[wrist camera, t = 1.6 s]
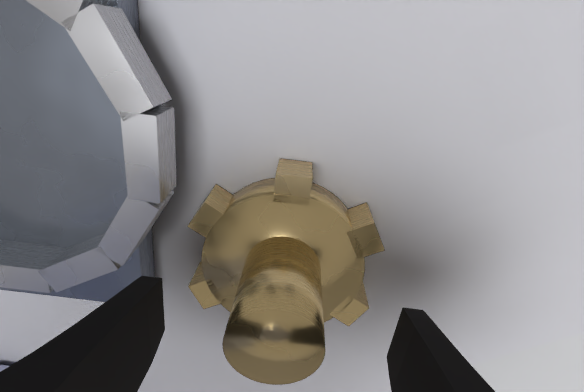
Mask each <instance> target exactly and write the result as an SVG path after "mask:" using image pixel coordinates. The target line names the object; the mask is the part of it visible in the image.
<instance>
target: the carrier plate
mask: <svg viewBox="0 0 584 392" xmlns="http://www.w3.org/2000/svg"><path fill="white" fill-rule="evenodd" d="M170 100H172V98H171V97H170V95H169V93H168V91H167V89H166V88H165V86H164V84H163V82H162V80H161V79H160V77H159V75H158V73H157V71H156V70H155V68H154V66H153V64H152V62H151V61H150V59H149V57H148V55H147V53H146V52H145V50H144V48H143V46H142V44H141V42H140V37H139V21H138V6H137V0H0V289H1V290H9V291H17V292H26V293H34V294H43V295H51V296H60V297H68V298H76V299H85V300H93V301H102V302H106V301H108V300H109V299H110V298H112V297H113V296H114V295H116V294H117V293H119V292H120V291H121V290H123V289H124V288H125V287H127V286H128V285H129V284H131V283H132V282H133V281H135V280H136V279H138V278H139V277H140V276H149V277H155V272H154V256H153V241H152V226H153V224H154V223H155V221H156V220H157V218H158V217H159V215H160V214H161V212H162V211H163V209H164V208H165V206H166V205H167V203H168V201H169V200H170V198H171V197H172V195H173V194H174V191H173V189H174V188H175V187H176V154H175V118H174V107H170V106H162V105H161V104H163V103H165V102H167V101H170Z"/></svg>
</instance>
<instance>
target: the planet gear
mask: <svg viewBox="0 0 584 392" xmlns="http://www.w3.org/2000/svg"><path fill="white" fill-rule="evenodd" d="M312 180H313V173H312V162H304V161H296V160H288V159H279V163H278V167H277V171H276V178H271V179H265V180H261V181H258V182H255V183H252V184H250V185H248V186H246V187H244V188H242V189H241V190H239V191H238V192H236V193H235V194H234V195H232V194H230V193H229V192H227V191H226V190H224V189H223V188H221V187H220V186H218V185H217V184H216V185H215V187H214V188H213V189H212V191H211V192H210V194H209V195H208V196H207V198H206V199H205V201H204V202H203V204H202V205H201V206H200V208H199V209H198V211H197V213H196V214H195V216H194V217H193V219H192V220H191V222H190V223H189V225H188V227H189V228H191V229H192V230H194V231H196V232H197V233H199V234H200V235H202V236H204V237H205V238H206V239H205V242H204V246H203V250H202V262H200V263H199V266H198V268H197V270H196V272H195V274H194V276H193V278H192V280H191V282H190V284H189V286H188V287H189V288H190V290H191V291H192V293H193V294H194V296H195V297H196V299H197V300H198V302H199V303H200V305H201V306H202V307H203V309H206V308H209V307H212V306H215V305H218V304H221V305H222V306H223V307H224V308H226V309H227V310H228V311H229V312H231V313H230V317H229V320H228V324H227V327H226V331H225V334H224V338H223V351H224V354H225V357H226V359H227V361H228V362H229V363H230V365H231V366H232V367H233V368H234V369H235V370H236V371H237V372H239V373H240V374H242V375H243V376H245V377H247V378H249V379H251V380H254V381H257V382H261V383H266V384H275V385H278V384H289V383H294V382H297V381H300V380H303V379H305V378H307V377H308V376H310V375H311V374H313V373H314V372H315V371H316V370H317V369H318V368H319V366H320V365H321V363H322V361H323V359H324V356H325V337H324V322H326V321H328V320H330V319H332V318H333V317H334V318H336V319H338V320H339V321H341V322H342V323H344V324H346V325H347V326H350V325H351V324H352V323H353V322H354V321H355V320H356V319H357V318H359V317H360V316H361V315H362V314H363V313H364V312H365V311H366V310H368V309H369V306H368V301H367V297H366V293H365V288H364V284H363V276H364V271H365V260H364V257H366V256H369V255H372V254H375V253H378V252H381V251H384V247H383V244H382V242H381V239H380V236H379V234H378V231H377V228H376V226H375V223H374V220H373V218H372V215H371V212H370V210H369V207H368V204H367V203H364V204H361V205H359V206H356V207H353V208H350V209H347V207H346V206H345V205H344V204H343V203H342V202H341V201H340V199H339V198H337V197H336V196H335V195H334V194H332V193H331V192H330V191H328V190H326V189H325V188H323V187H321V186H319V185H317V184H314V183H312Z"/></svg>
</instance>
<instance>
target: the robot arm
mask: <svg viewBox="0 0 584 392" xmlns="http://www.w3.org/2000/svg"><path fill="white" fill-rule="evenodd" d="M164 330H165V325H164V307H163V289H162V278H157V277H149V276H140V277H139V278H138V279H136V280H135V281H133V282H132V283H131V284H129V285H128V286H127V287H125V288H124V289H123V290H121V291H120V292H119V293H117V294H116V295H114V296H113V297H112V298H110V299H109V300H108V301H106V302H105V303H104V304H102V305H101V306H100V307H98V308H97V309H95V310H94V311H93V312H91V313H90V314H89V315H87V316H86V317H84V318H83V319H82V320H80V321H79V322H77V323H76V324H75V325H73V326H72V327H70V328H69V329H67V330H66V331H64V332H63V333H61V334H60V335H58V336H57V337H55V338H54V339H52V340H51V341H49V342H48V343H46V344H45V345H43V346H42V347H40V348H39V349H37V350H36V351H34V352H32V353H31V354H29V355H28V356H26V357H24V358H23V359H21V360H19V361H18V362H16V363H14V364H13V365H11V366H7V365H0V392H137V391H138V389H139V387H140V385H141V383H142V381H143V379H144V377H145V375H146V373H147V372H148V370H149V368H150V366H151V364H152V361H153V359H154V356H155V354H156V351H157V349H158V346H159V343H160V341H161V338H162V335H163V333H164ZM387 362H388V370H389V377H390V384H391V390H392V392H495V391H494V390H493V389H492V388H491V387H490V386H489V385H488V383H487V382H486V381H485V380H484V379H483V378H482V377H481V376H480V375H479V374H478V373H477V371H476V370H475V369H474V368H473V367H472V366H471V365H470V364H469V363H468V361H467V360H466V359H465V358H464V357H463V356H462V355H461V353H460V352H459V351H458V350H457V349H456V348H455V347H454V345H453V344H452V343H451V342H450V341H449V340H448V338H447V337H446V336H445V335H444V334H443V333H442V331H441V330H440V329H439V328H438V327H437V325H436V324H435V323H434V322H433V321H432V320H431V318H430V317H429V316H428V315H427V314H426V313H425V312H424V311H423V310H418V309H410V308H402V311H401V314H400V317H399V320H398V324H397V327H396V330H395V333H394V336H393V339H392V342H391V345H390V348H389V351H388V354H387Z"/></svg>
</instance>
